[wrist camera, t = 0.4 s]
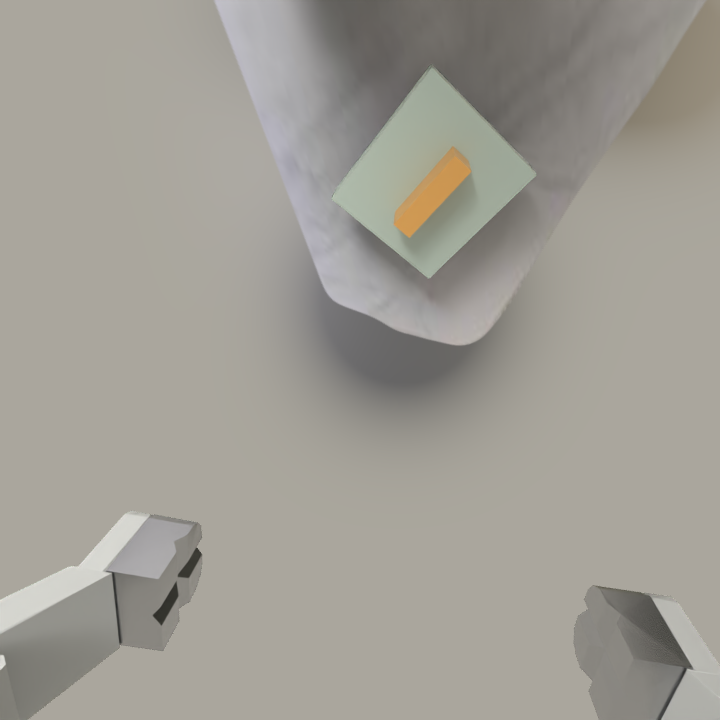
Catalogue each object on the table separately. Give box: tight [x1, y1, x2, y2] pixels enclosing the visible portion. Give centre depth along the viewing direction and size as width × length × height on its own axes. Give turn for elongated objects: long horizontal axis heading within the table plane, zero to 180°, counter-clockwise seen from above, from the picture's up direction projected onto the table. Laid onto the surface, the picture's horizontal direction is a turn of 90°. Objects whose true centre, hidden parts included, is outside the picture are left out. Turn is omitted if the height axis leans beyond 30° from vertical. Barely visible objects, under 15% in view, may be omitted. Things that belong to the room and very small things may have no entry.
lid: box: [331, 64, 537, 279], centre depth 44 cm, size 14×13×6 cm
